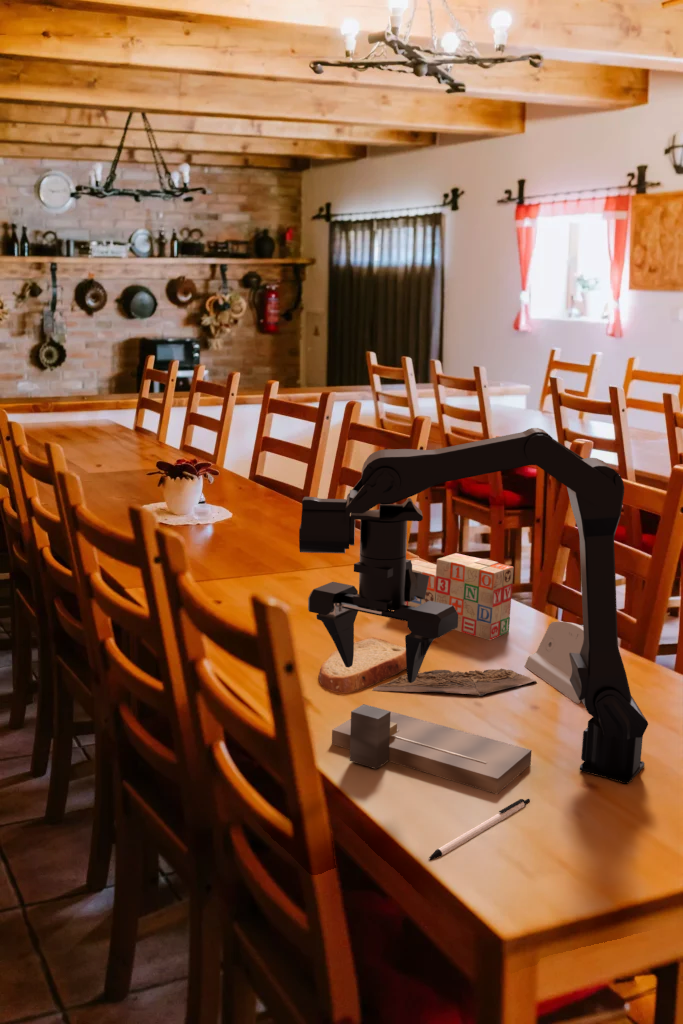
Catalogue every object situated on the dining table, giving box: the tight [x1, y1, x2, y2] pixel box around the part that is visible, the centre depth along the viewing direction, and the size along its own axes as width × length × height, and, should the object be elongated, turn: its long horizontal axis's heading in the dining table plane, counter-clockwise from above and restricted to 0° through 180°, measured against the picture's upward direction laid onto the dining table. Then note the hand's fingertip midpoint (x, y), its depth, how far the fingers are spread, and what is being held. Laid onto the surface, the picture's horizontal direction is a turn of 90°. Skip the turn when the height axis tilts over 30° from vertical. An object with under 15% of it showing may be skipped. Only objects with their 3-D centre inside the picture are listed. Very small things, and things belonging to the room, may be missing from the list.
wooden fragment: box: [371, 668, 538, 697], centre depth 165 cm, size 26×11×1 cm, turn 98°
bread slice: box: [318, 636, 407, 694], centre depth 171 cm, size 18×18×4 cm
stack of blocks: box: [405, 552, 515, 641], centre depth 194 cm, size 21×6×12 cm, turn 49°
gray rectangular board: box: [331, 706, 532, 795], centre depth 141 cm, size 24×10×2 cm, turn 57°
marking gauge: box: [349, 704, 397, 770], centre depth 139 cm, size 4×7×7 cm, turn 147°
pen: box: [428, 798, 531, 860], centre depth 122 cm, size 1×19×1 cm, turn 137°
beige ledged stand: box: [524, 621, 584, 704], centre depth 167 cm, size 17×5×10 cm, turn 19°
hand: (379, 674), depth 136 cm, fingers open, 9 cm apart
